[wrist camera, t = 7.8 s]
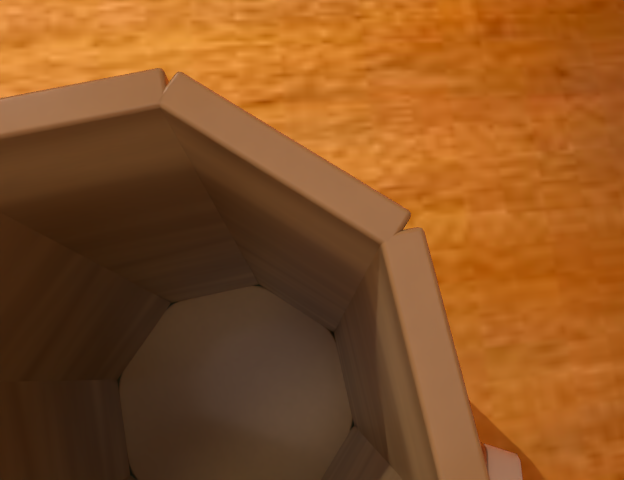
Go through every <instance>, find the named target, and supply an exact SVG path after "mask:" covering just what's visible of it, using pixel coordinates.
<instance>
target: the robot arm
mask: <svg viewBox="0 0 624 480" xmlns="http://www.w3.org/2000/svg"><path fill="white" fill-rule="evenodd" d="M480 444H481V448H482V451H483V455H484V459H485V463H486V466H487V470H488V474H489V478H490V480H523V478H522V469H521V461H520V459H519V457H518V455H517V454H515V453H512V452H509V451H506V450H503V449H500V448H497V447H494V446H490V445H487V444H482V443H481V442H480Z"/></svg>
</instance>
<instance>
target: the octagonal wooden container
mask: <svg viewBox="0 0 624 480" xmlns="http://www.w3.org/2000/svg"><path fill="white" fill-rule="evenodd" d="M410 216H411V213H410V212H409V211H408V210H407V209H405V208H404V207H402V206H401V205H399V204H397V203H396V202H394V201H392V200H391V199H389V198H387V197H386V196H384V195H382V194H381V193H379V192H378V191H376V190H374V189H373V188H371V187H369V186H368V185H366V184H364V183H363V182H361V181H359V180H358V179H356V178H355V177H353V176H351V175H350V174H348V173H346V172H345V171H343V170H341V169H340V168H338V167H337V166H335V165H333V164H332V163H330V162H328V161H327V160H325V159H323V158H322V157H320V156H318V155H317V154H315V153H314V152H312V151H310V150H309V149H307V148H305V147H304V146H302V145H300V144H299V143H297V142H295V141H294V140H292V139H291V138H289V137H287V136H286V135H284V134H282V133H281V132H279V131H277V130H276V129H274V128H272V127H271V126H269V125H268V124H266V123H264V122H263V121H261V120H259V119H258V118H256V117H254V116H253V115H251V114H250V113H248V112H246V111H245V110H243V109H241V108H240V107H238V106H236V105H235V104H233V103H231V102H230V101H228V100H227V99H225V98H223V97H222V96H220V95H218V94H217V93H215V92H213V91H212V90H210V89H208V88H207V87H205V86H204V85H202V84H200V83H199V82H197V81H195V80H194V79H192V78H190V77H189V76H187V75H185V74H184V73H182V72H177V73H176V74H175V75H174V76H173V78H172V79H171V80H170V82H169V81H168V79H167V77H166V74H165V72H164V71H163V70H162V69H159V68H157V69H152V70H146V71H141V72H136V73H131V74H125V75H120V76H115V77H110V78H104V79H99V80H94V81H89V82H84V83H78V84H73V85H68V86H63V87H57V88H52V89H47V90H42V91H36V92H31V93H26V94H21V95H16V96H10V97H5V98H0V480H136V479H137V480H490V478H489V474H488V470H487V466H486V463H485V459H484V455H483V451H482V448H481V444H480V440H479V436H478V433H477V429H476V425H475V421H474V417H473V414H472V410H471V406H470V402H469V399H468V395H467V391H466V387H465V383H464V380H463V376H462V372H461V368H460V365H459V361H458V357H457V353H456V349H455V346H454V342H453V338H452V334H451V331H450V327H449V323H448V319H447V316H446V312H445V308H444V304H443V300H442V297H441V293H440V289H439V285H438V282H437V278H436V274H435V270H434V266H433V263H432V259H431V255H430V251H429V248H428V244H427V240H426V236H425V232H424V231H423V229H422V228H419V227H416V228H411V229H406V230H403V229H404V227H405V225H406V224H407V222H408V221H409V219H410ZM258 284H259V285H261V286H262V287H261V286H254V285H258ZM173 302H176V303H174V304H173V305H171V306H170V307H169V305H170V304H171V303H173ZM168 307H169V308H168ZM331 331H332V332H333V333H334V336H333V334H332V333H331ZM121 374H122V375H121ZM120 375H121V378H120V382H119V387H118V381H117V379H118V378H119V377H120ZM353 423H354V426H353V427H352V424H353ZM129 467H130V469H131V471H132V473H133V475H134V476H135V478H136V479H135V478H133V477H132V476H131V475H130V469H129Z"/></svg>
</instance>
